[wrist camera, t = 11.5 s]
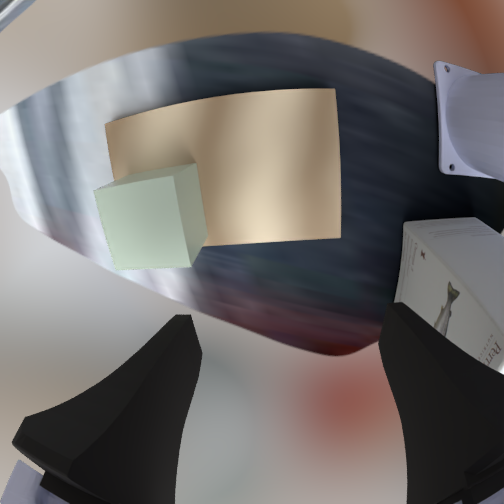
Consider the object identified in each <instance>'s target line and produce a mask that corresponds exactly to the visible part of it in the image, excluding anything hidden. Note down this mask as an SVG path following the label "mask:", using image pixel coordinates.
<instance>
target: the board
mask: <svg viewBox="0 0 504 504" xmlns="http://www.w3.org/2000/svg"><path fill="white" fill-rule="evenodd" d="M105 130H106V137H107V143H108V150H109V156H110V161H111V167H112V172H113V177H114V181H116V180H118V179H120V178H123V177H125V176H127V175H130V174H135V173H140V172H145V171H150V170H156V169H161V168H167V167H173V166H179V165H186V164H192V163H197V170H198V177H199V183H200V190H201V196H202V202H203V209H204V215H205V221H206V226H207V232H208V237H207V239H206V241H205V242H204V244H203V246H215V245H230V244H246V243H261V242H277V241H293V240H310V239H327V238H341V171H340V146H339V129H338V116H337V104H336V94H335V89H287V90H271V91H259V92H249V93H240V94H232V95H225V96H218V97H212V98H206V99H200V100H195V101H190V102H185V103H180V104H175V105H171V106H166V107H162V108H158V109H154V110H150V111H146V112H142V113H139V114H135V115H132V116H128V117H125V118H122V119H119V120H115V121H112V122H109V123H106V124H105Z"/></svg>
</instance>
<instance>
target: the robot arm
mask: <svg viewBox="0 0 504 504" xmlns="http://www.w3.org/2000/svg"><path fill="white" fill-rule="evenodd" d="M444 66H445V67H446V68H447V72H446V71H445V69H444ZM433 67H434V74H435V82H436V92H437V103H438V120H439V169H440V171H441V172H442V173H444V174H452V175H465V176H475V177H485V178H494V179H498V180H500V181H503V182H504V73H492V74H481V73H478V72H475V71H472V70H469V69H466V68H463V67H460V66H457V65H453V64H450V63H447V62H443V61H436V62H435V63H434V65H433ZM450 164H451V165H452V168H451V170H450V169H449V166H450ZM378 345H379V349H380V354H381V359H382V363H383V367H384V370H385V373H386V376H387V378H388V381H389V384H390V387H391V390H392V393H393V396H394V399H395V402H396V405H397V408H398V411H399V415H400V419H401V423H402V429H403V435H404V441H405V450H406V460H407V482H408V483H407V504H504V374H502V373H500V372H498V371H496V370H494V369H492V368H490V367H489V366H487V365H485V364H483V363H482V362H480V361H479V360H477V359H475V358H474V357H472V356H471V355H469V354H468V353H466V352H465V351H463V350H462V349H461V348H459V347H458V346H457V345H455V344H454V343H452V342H451V341H450V340H449V339H447V338H446V337H445V336H443V335H442V334H441V333H440V332H438V331H437V330H436V329H435V328H434V327H432V326H431V325H430V324H429V323H428V322H426V321H425V320H424V319H423V318H422V317H420V316H419V315H418V314H417V313H416V312H414V311H413V310H412V309H411V308H410V307H408V306H407V305H406V304H404V303H403V302H395V303H387V308H386V313H385V317H384V322H383V326H382V330H381V335H380V339H379V343H378ZM201 359H202V350H201V347H200V344H199V340H198V337H197V334H196V331H195V327H194V324H193V320H192V317H191V315H175V316H174V317H173V318H172V319H171V320H169V321H168V322H167V323H166V324H165V325H164V326H163V327H162V328H161V329H160V330H159V331H158V332H157V333H156V334H155V335H154V336H153V337H152V338H151V339H150V340H149V341H148V342H147V343H146V344H145V345H144V346H143V347H142V348H141V349H140V350H139V351H138V352H136V353H135V354H134V355H133V356H132V357H131V358H129V359H128V360H127V361H126V362H125V363H124V364H123V365H121V366H120V367H119V368H118V369H116V370H115V371H114V372H113V373H111V374H110V375H109V376H107V377H106V378H104V379H103V380H102V381H100V382H99V383H97V384H96V385H94V386H92V387H91V388H89V389H88V390H86V391H84V392H83V393H81V394H79V395H78V396H76V397H74V398H72V399H70V400H68V401H66V402H64V403H62V404H60V405H57V406H55V407H53V408H50V409H48V410H45V411H42V412H39V413H36V414H33V415H31V416H27V417H25V418H24V420H23V422H22V424H21V426H20V427H19V429H18V431H17V433H16V435H15V437H14V439H13V441H12V444H13V446H14V447H15V448H17V449H18V450H19V451H20V452H21V453H22V454H24V455H25V456H26V457H27V458H29V459H30V460H31V461H33V462H34V463H35V464H37V465H38V466H39V467H41V468H42V469H43V470H45V473H44V475H41V474H40V473H39V472H37V471H36V470H34V469H32V468H31V467H30V466H28V465H27V464H25V463H24V462H22V461H21V460H18V461H17V463H16V465H15V467H14V470H13V472H12V474H11V476H10V479H9V481H8V483H7V486H6V488H5V491H4V493H3V496H2V498H1V501H0V502H1V504H175V487H176V474H177V465H178V458H179V449H180V444H181V438H182V432H183V428H184V424H185V420H186V417H187V414H188V410H189V407H190V404H191V400H192V397H193V394H194V391H195V387H196V384H197V381H198V377H199V371H200V366H201Z"/></svg>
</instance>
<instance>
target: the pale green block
mask: <svg viewBox="0 0 504 504" xmlns="http://www.w3.org/2000/svg"><path fill="white" fill-rule="evenodd" d="M94 195H95V199H96V203H97V207H98V211H99V215H100V219H101V223H102V226H103V230H104V234H105V237H106V240H107V244H108V247H109V250H110V254H111V257H112V260H113V263H114V266H115V269H116V270H134V269H157V268H178V267H191V266H192V264H193V263H194V261H195V259H196V257H197V255H198V253H199V251H200V250H201V248H202V246H203V244H204V242H205V241H206V239H207V237H208V232H207V226H206V221H205V215H204V209H203V202H202V196H201V190H200V183H199V177H198V170H197V163H192V164H186V165H179V166H173V167H167V168H161V169H156V170H150V171H145V172H140V173H135V174H130V175H127V176H125V177H123V178H120V179H118V180H116V181H114V182H111V183H109V184H107V185H105V186H103V187H101V188H99V189H96V190H94Z"/></svg>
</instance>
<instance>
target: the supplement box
mask: <svg viewBox="0 0 504 504" xmlns="http://www.w3.org/2000/svg"><path fill="white" fill-rule="evenodd" d="M395 302H403V303H404V304H406V305H407V306H408V307H410V308H411V309H412V310H413V311H414V312H416V313H417V314H418V315H419V316H420V317H422V318H423V319H424V320H425V321H426V322H428V323H429V324H430V325H431V326H432V327H434V328H435V329H436V330H437V331H438V332H440V333H441V334H442V335H443V336H445V337H446V338H447V339H449V340H450V341H451V342H452V343H454V344H455V345H457V346H458V347H459V348H461V349H462V350H463V351H465V352H466V353H468V354H469V355H471V356H472V357H474V358H475V359H477V360H479V361H480V362H482V363H483V364H485V365H487V366H489V367H490V368H492V369H494V370H496V371H498V372H500V373H502V374H504V237H503V236H502V235H500V234H499V233H497V232H496V231H494V230H493V229H492V228H490V227H489V226H487V225H486V224H485V223H483V222H482V221H480V220H479V219H477V218H475V217H469V218H450V219H434V220H421V221H409V222H404V224H403V247H402V258H401V266H400V273H399V279H398V285H397V291H396V296H395V300H394V303H395Z"/></svg>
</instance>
